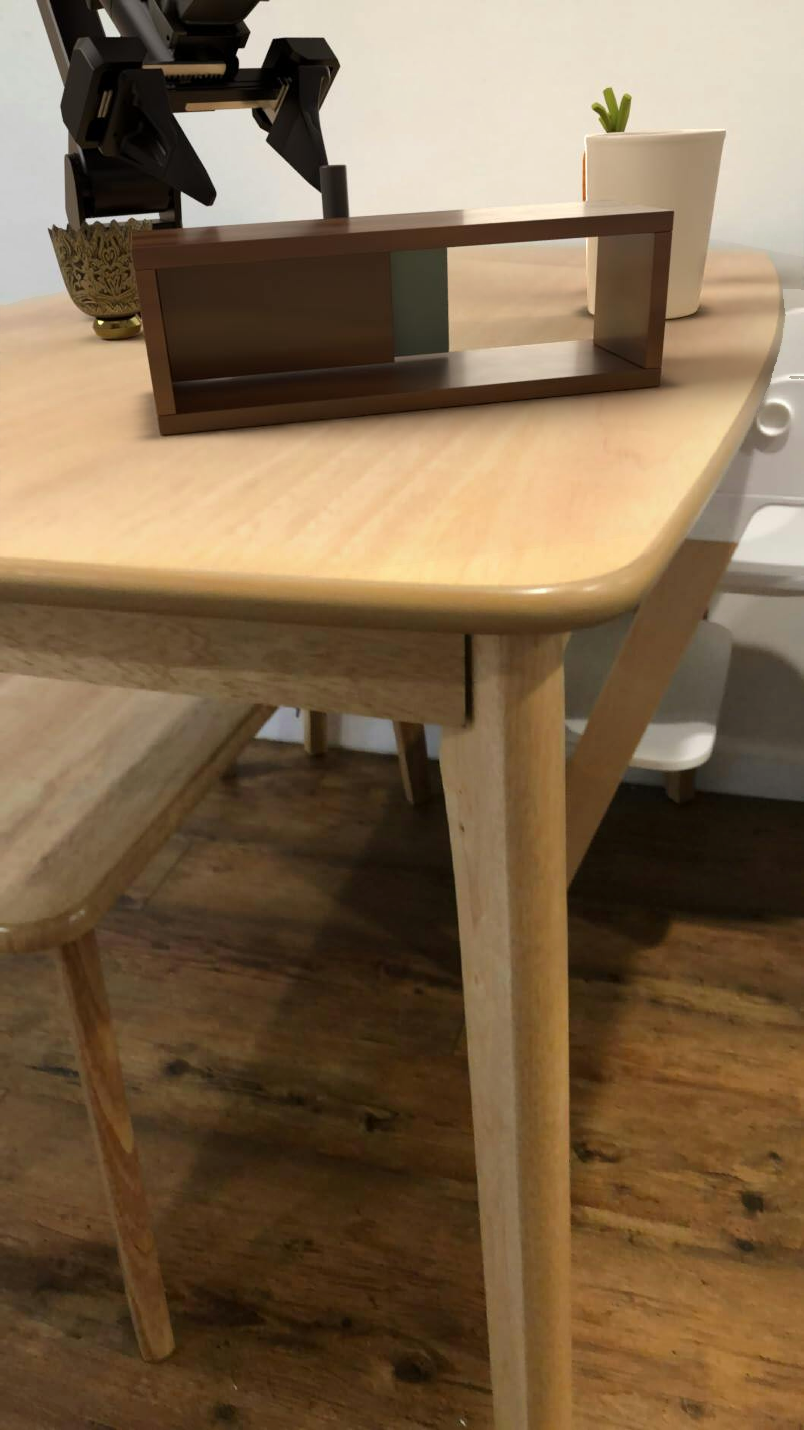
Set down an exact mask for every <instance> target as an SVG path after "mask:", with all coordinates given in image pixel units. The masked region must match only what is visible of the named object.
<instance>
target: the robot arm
mask: <svg viewBox="0 0 804 1430" xmlns="http://www.w3.org/2000/svg"><path fill="white" fill-rule="evenodd" d="M35 1H36V5H37V7H38V10H39V13H40V17H41V20H42V22H43V26H44V29H45V32H46V35H47V38H48V41H49V44H50V47H51V51H52V54H53V57H54V60H55V64H56V66H57V69H58V72H59V75H60V79H61V82H62V85H63V92H62V96H61V100H60V104H59V108H60V113H61V119H62V123H63V125H64V126H65V128H66V129H67V153H65V154H64V157H63V161H64V162H63V163H64V165H63V166H64V167H63V168H64V210H65V214H66V219H67V224H68V223H69V224H70V226H71V227H72V228H73V229H74V230H75V231H76V233H77V230H78V228H79V229H80V227H81V225H82V223H83V221H86V222H87V220H88V219H89V220H90V219H99V218H100V219H101V218H113V217H125V216H137V215H149V214H151V215H152V214H158V217H159V218H151V219H149V218H148V219H146V220H147V221H148V222H149V221H150V220H152V230H162V229H177V228H184V224H183V208H182V193H183V194H184V195H186V196H188V197H190V198H191V199H193V200H195V201H196V202H198V203H199V204H202V205H203V206H205V207H212V206H213V205H215V201H216V199H217V196H218V194H217V193H218V192H217V189H216V187H215V185H214V183H213V181H212V179H211V176H210V175H209V173H208V170H207V169H206V167H205V165H204V164H203V162H202V160H201V158H200V157H199V155H198V154H197V152H196V150H195V148H194V146H193V145H192V143H191V142H190V139H189V138H188V136H187V135H186V133H185V131H184V130H183V128H182V125H180V123H179V121H178V119H177V118H176V116H175V114H183V113H184V114H185V113H205V112H207V113H208V112H215V111H224V110H243V109H244V110H245V109H251V116H252V118H253V120H254V121H255V123H256V124H257V126H258V127H259V129H261V130H263V131H265V132H266V133H268V134H267V136H266V138H265V142H266V143H267V145H269V146H270V148H271V149H273V150H274V151H275V152H276V153H277V154H278V155H279V156H280V157H281V158H282V159H283V160H284V161H285V162H286V163H287V164H288V165H289V166H290V167H291V168H292V169H293V170H294V171H295V172H296V173H297V174H298V175H299V176H300V177H301V178H302V179H303V180H305V182H306V183H308V184H309V185H310V186H311V187H313V189H315V190H316V191H317V192H319V193H320V194H321V181H320V166H324V165H330V164H329V159H328V155H327V149H326V145H325V140H324V138H323V137H324V136H323V131H322V126H321V118H320V117H321V116H320V111H321V108H322V107H323V105H324V103H325V100H326V98H327V95H328V94H329V92H330V90H331V88H332V85H333V84H334V81H335V79H336V77H337V75H338V73H339V71H340V69H341V64H340V61H339V58H338V57H337V55H336V54H335V52H334V51H333V49H332V47H331V46H330V45H329V43H328V41H327V40H326V38H325V37H320V36H319V37H318V36H317V37H314V36H313V37H311V36H309V37H307V36H306V37H305V36H303V37H302V36H301V37H299V36H298V37H297V36H294V37H291V36H289V37H287V36H286V37H275V38H272V39H271V42H270V45H269V47H268V49H267V52H266V54H265V56H264V60H263V62H262V65H261V67H245V68H244V67H242V68H241V67H240V59H239V57H238V56H237V54H238V51H239V49H241V50H242V49H245V48H246V46H247V43H248V42H249V41H248V40H249V38H250V36H251V30H250V28H249V27H248V25H247V24H246V21H245V19H246V18H248V16H249V15H250V14H251V13H252V12H253V10H254V9H255V8H256V7H257V5H258V4H259V3H260V2H266V3H267V2H270V1H271V0H35ZM100 10H104V11H105V12H106V14H107V15H108V17H109V19H110V20H111V22H112V23H113V24H114V27H115V28H116V30H117V32H118V33H119V35H120V36H107V35H106V31H105V28H104V25H103V23H102V20H101V19H102V18H101V16H100V13H99V11H100ZM137 220H138V221H139V222H140V223H141V224H142V222H143V220H144V219H137ZM127 221H128V220H126V221H118V222H119V223H120V224H119V223H118V224H119V226H121V227H123V226H124V225H125V223H126V222H127ZM101 223H102V224H103V225H104V226H105V227H106V229H107V230H109V227H110V222H101ZM92 224H93V223H90V224H89V223H88V225H89V226H91V225H92ZM150 225H151V224H150ZM121 227H120V228H121ZM150 228H151V227H150ZM121 229H122V228H121ZM107 232H108V231H107ZM136 314H137V315H138V316H139V315H141V312H138V313H136Z"/></svg>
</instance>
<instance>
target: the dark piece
mask: <svg viewBox="0 0 804 1430" xmlns="http://www.w3.org/2000/svg"><path fill="white" fill-rule="evenodd" d="M347 167H348V166H347V164H329V165H324V166H320V181H321V193H320V194H321V207H322V219H328V218H343V217H351V216H350V200H349V183H348V168H347ZM448 263H449V262H448V248H435V249H422V250H408V251H394V252H390V265H391V288H392V310H393V332H394V355H395V357H401V356H412V355H423V354H434V353H445V352H450V322H449V320H450V319H449V316H450V315H449V270H448V269H449V268H448V266H449V264H448Z"/></svg>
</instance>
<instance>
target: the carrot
mask: <svg viewBox="0 0 804 1430" xmlns="http://www.w3.org/2000/svg"><path fill="white" fill-rule="evenodd" d="M602 95H603V97H604V102H605V105H606V107H607V109H606V107H605V106H603V104H600V103H599V102H598V101H595V102H593V103H592V104H591V107H590V108H591V109H592V111H594V112H595V113H596V114H598V115H599V117H597V118H598V119H597V120H598V121H599V123H600V124H601V126H602V128H603V129H604V131H605V133H616V132H626V128H627V124H628V121H629V118H630V112H631V107H632V106H631V105H632V99H633V97H632V96H631V95H630V94H629V93H624V94H623V95H622V98H621V100H620V103H619V106H618V101H617V98H616V95H615V92H614V89H613V88H612V87H606V88H605V89H603V90H602ZM581 182H582V186H581V187H582V189H581V190H582V202H583V201H586V151H585V150H584V153H583V156H582V181H581Z"/></svg>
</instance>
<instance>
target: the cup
mask: <svg viewBox="0 0 804 1430" xmlns="http://www.w3.org/2000/svg"><path fill="white" fill-rule="evenodd" d="M138 220H139V219H136V218H134V217H130V218H129V219H128V220H126V221H127V222H126V223H125V225H124V226H123V227H121V226H119V224H120V223H119V222H120V221H117V220H116V219H114V218H113V219H111V220H110V222H109V223H110V227H109V230H107V229H106V227H105V226H104V225H103V224H102V223H103V222H101V221H99V220H95V221H94V222H93V223H91V224H92V225H91V226H89V223H88V222H87V220H86V221H83V223H82V225H81V227H80V229H79V228H78V230H77V233H76V231H75V230H74V229H73V228H72V227H71V226H70V224H69V223H68V222H67V223H66V229H65V228H62V227H58V226H57V225H56V224H54V223H53V224H52V225H51V228H49V227H47V232H48V235H49V238H50V241H51V245H52V248H53V251H54V255H55V258H56V261H57V264H58V267H59V271H60V274H61V278H62V280H63V283H64V285H65V288H66V291H67V293H68V295H69V297H70V299H71V301H72V302H73V304H74V305H75V306H76V307H77V309H78V310H80V311H81V312H82V313H84V314H86V315H87V316H91V317H93V320H92V329H93V332H94V333H95V335H96V336H97V337H99V338H100V339H105V340H122V339H129V338H132V337H136V336H137V335H139V334H140V333H141V330H142V328H143V325H142V318H141V317H140V316H139V315H137V314H136V313H138V312H140V306H139V299H138V293H137V287H136V281H135V274H134V268H133V262H132V256H131V232H132V231H147V230H152V220H150V221H149V222H148V221H147V220H148V219H146V218H144V219H142V220H143V222H142V224H141V223H140V222H139V221H138ZM118 223H119V224H118ZM150 224H151V225H150ZM120 227H121V228H122V229H121V228H120ZM150 227H151V228H150ZM107 231H108V232H107Z"/></svg>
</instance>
